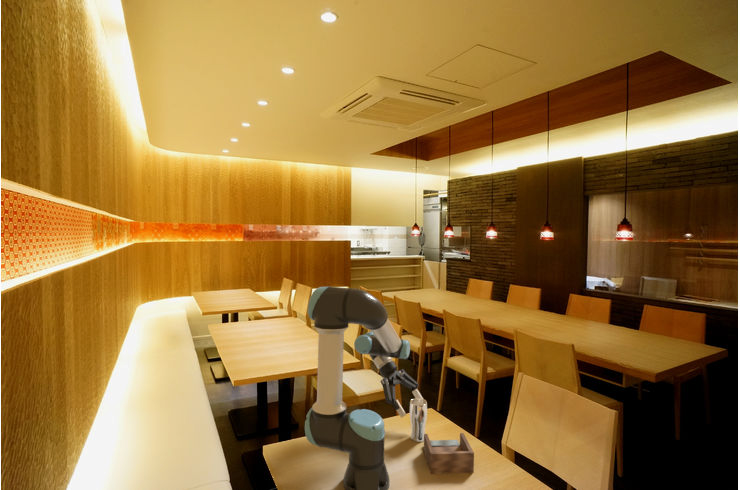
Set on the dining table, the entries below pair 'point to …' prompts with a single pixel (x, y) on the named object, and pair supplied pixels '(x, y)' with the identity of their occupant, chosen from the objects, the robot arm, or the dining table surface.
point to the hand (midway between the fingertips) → (413, 410)
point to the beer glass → (418, 418)
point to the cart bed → (449, 455)
